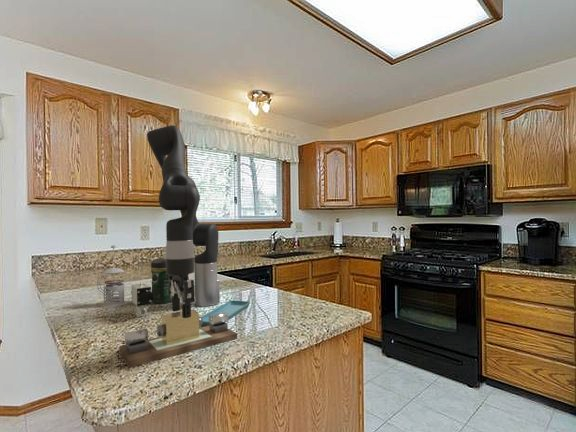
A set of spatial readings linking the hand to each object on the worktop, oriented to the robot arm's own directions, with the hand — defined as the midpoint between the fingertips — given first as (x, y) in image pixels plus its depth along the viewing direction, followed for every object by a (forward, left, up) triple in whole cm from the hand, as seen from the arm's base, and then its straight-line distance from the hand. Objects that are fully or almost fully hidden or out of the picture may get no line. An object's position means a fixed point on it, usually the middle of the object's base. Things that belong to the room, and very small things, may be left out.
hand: (181, 314), depth 92 cm
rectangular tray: (-22, -18, -9) cm, 30 cm away
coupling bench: (0, 0, -9) cm, 9 cm away
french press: (+7, -64, -9) cm, 65 cm away
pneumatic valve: (+1, -38, -9) cm, 39 cm away
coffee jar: (-11, -54, -9) cm, 56 cm away
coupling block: (0, 0, -7) cm, 7 cm away
